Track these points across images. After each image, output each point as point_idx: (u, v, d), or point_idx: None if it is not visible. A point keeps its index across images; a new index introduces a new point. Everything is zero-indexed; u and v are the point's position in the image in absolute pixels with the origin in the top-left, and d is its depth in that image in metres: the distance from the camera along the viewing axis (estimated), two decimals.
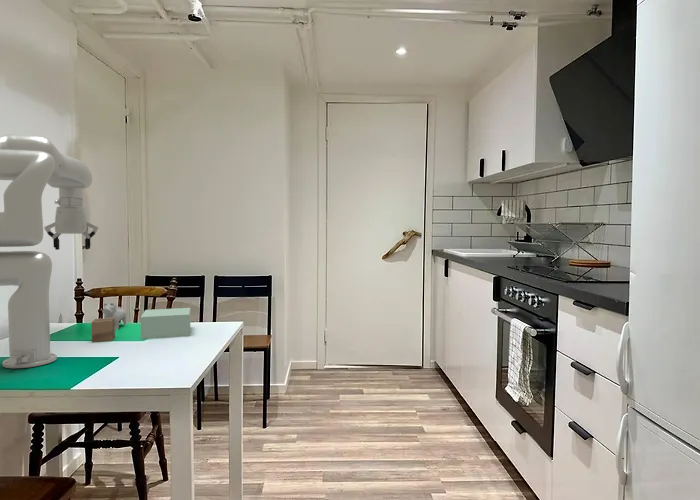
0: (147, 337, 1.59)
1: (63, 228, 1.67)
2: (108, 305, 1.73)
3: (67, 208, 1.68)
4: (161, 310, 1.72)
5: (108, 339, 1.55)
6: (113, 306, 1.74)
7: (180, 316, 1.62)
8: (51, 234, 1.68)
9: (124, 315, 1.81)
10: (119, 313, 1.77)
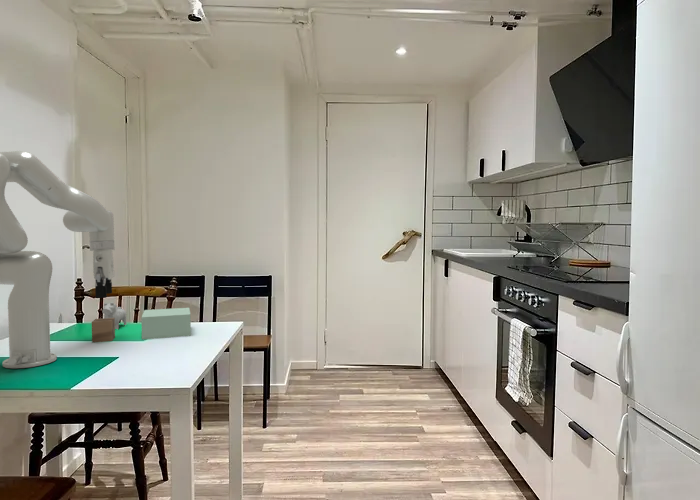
0: (148, 337, 1.59)
1: (111, 273, 1.56)
2: (108, 305, 1.73)
3: (110, 251, 1.57)
4: (160, 310, 1.72)
5: (108, 339, 1.55)
6: (113, 306, 1.74)
7: (181, 316, 1.63)
8: (102, 281, 1.52)
9: (124, 315, 1.81)
10: (119, 313, 1.77)
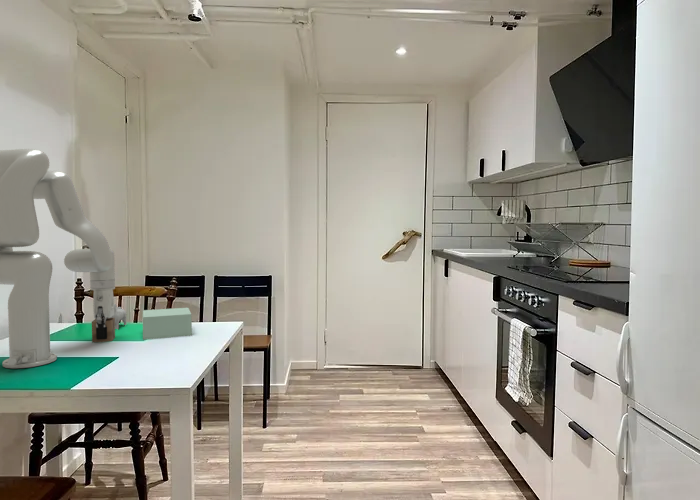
0: (149, 337, 1.59)
1: (111, 312, 1.56)
2: None
3: (111, 290, 1.57)
4: (160, 310, 1.72)
5: (108, 339, 1.55)
6: None
7: (182, 315, 1.63)
8: (103, 323, 1.53)
9: (124, 315, 1.81)
10: (119, 313, 1.77)
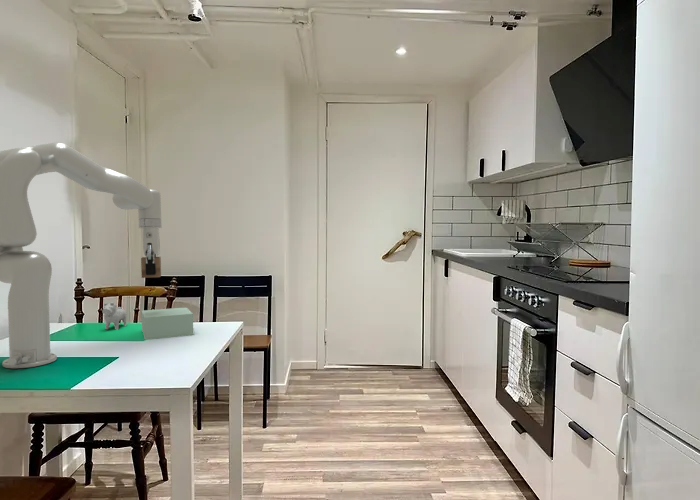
0: (151, 337, 1.59)
1: (158, 250, 1.64)
2: (108, 305, 1.73)
3: (158, 229, 1.65)
4: (159, 310, 1.71)
5: (156, 275, 1.63)
6: (113, 306, 1.74)
7: (184, 315, 1.64)
8: (152, 259, 1.61)
9: (124, 315, 1.81)
10: (119, 313, 1.77)
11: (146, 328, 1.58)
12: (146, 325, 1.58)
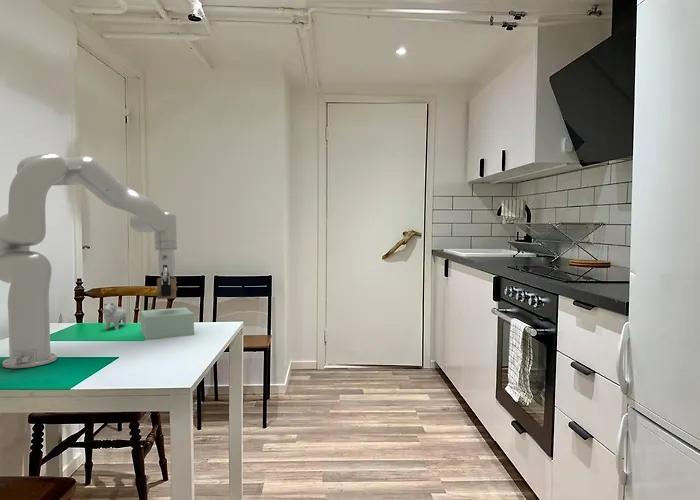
0: (152, 337, 1.59)
1: (174, 271, 1.67)
2: (108, 305, 1.73)
3: (173, 251, 1.68)
4: (158, 310, 1.71)
5: (172, 296, 1.66)
6: (113, 306, 1.74)
7: (185, 315, 1.64)
8: (168, 281, 1.64)
9: (124, 315, 1.81)
10: (119, 313, 1.77)
11: (147, 328, 1.58)
12: (147, 325, 1.58)
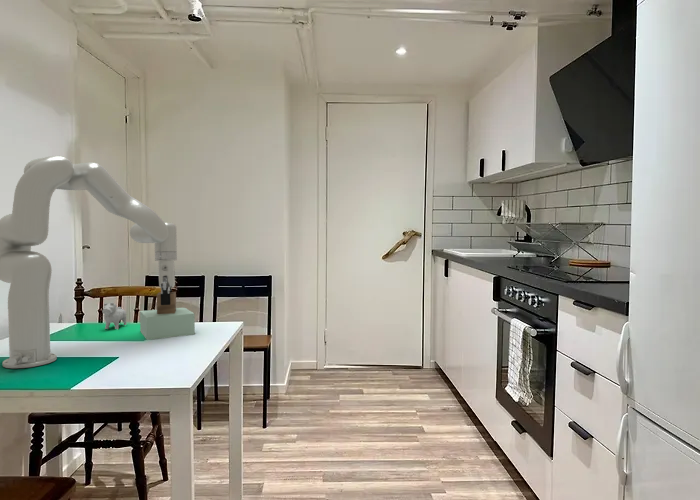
0: (153, 337, 1.59)
1: None
2: (108, 305, 1.73)
3: (173, 261, 1.68)
4: None
5: (171, 311, 1.66)
6: (113, 306, 1.74)
7: (186, 315, 1.64)
8: (167, 289, 1.62)
9: (124, 315, 1.81)
10: (119, 313, 1.77)
11: (148, 328, 1.58)
12: (148, 325, 1.58)
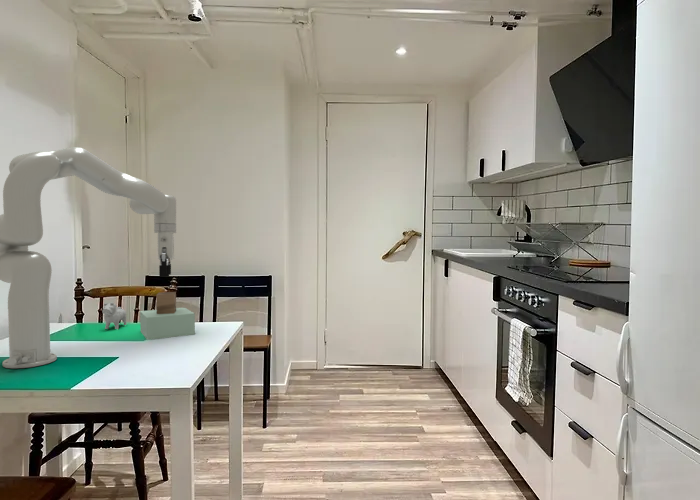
0: (153, 337, 1.59)
1: None
2: (108, 305, 1.73)
3: (172, 234, 1.67)
4: None
5: (171, 311, 1.66)
6: (113, 306, 1.74)
7: (186, 315, 1.64)
8: (166, 261, 1.61)
9: (124, 315, 1.81)
10: (119, 313, 1.77)
11: (148, 328, 1.58)
12: (148, 325, 1.58)
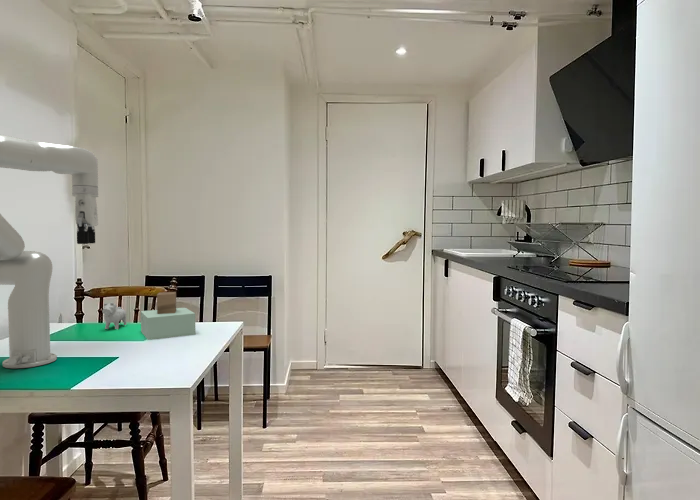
0: (154, 338, 1.58)
1: (94, 220, 1.51)
2: (108, 305, 1.73)
3: (94, 197, 1.52)
4: None
5: (172, 311, 1.66)
6: (113, 306, 1.74)
7: (186, 315, 1.64)
8: (84, 226, 1.46)
9: (124, 315, 1.81)
10: (119, 313, 1.77)
11: (149, 328, 1.58)
12: (149, 325, 1.58)
